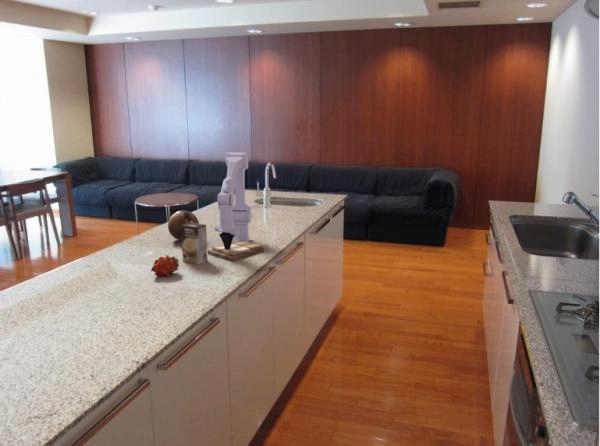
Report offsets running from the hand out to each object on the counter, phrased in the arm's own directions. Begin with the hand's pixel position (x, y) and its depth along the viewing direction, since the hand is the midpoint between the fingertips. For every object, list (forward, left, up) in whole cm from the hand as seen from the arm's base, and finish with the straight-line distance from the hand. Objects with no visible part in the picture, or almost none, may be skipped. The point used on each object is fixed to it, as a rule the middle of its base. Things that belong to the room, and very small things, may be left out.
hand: (227, 249), depth 219 cm
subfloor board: (0, +5, -3) cm, 6 cm away
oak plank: (0, +2, -1) cm, 3 cm away
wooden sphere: (-35, +2, -3) cm, 35 cm away
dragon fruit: (+2, -34, -3) cm, 34 cm away
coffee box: (-4, -15, -3) cm, 16 cm away
